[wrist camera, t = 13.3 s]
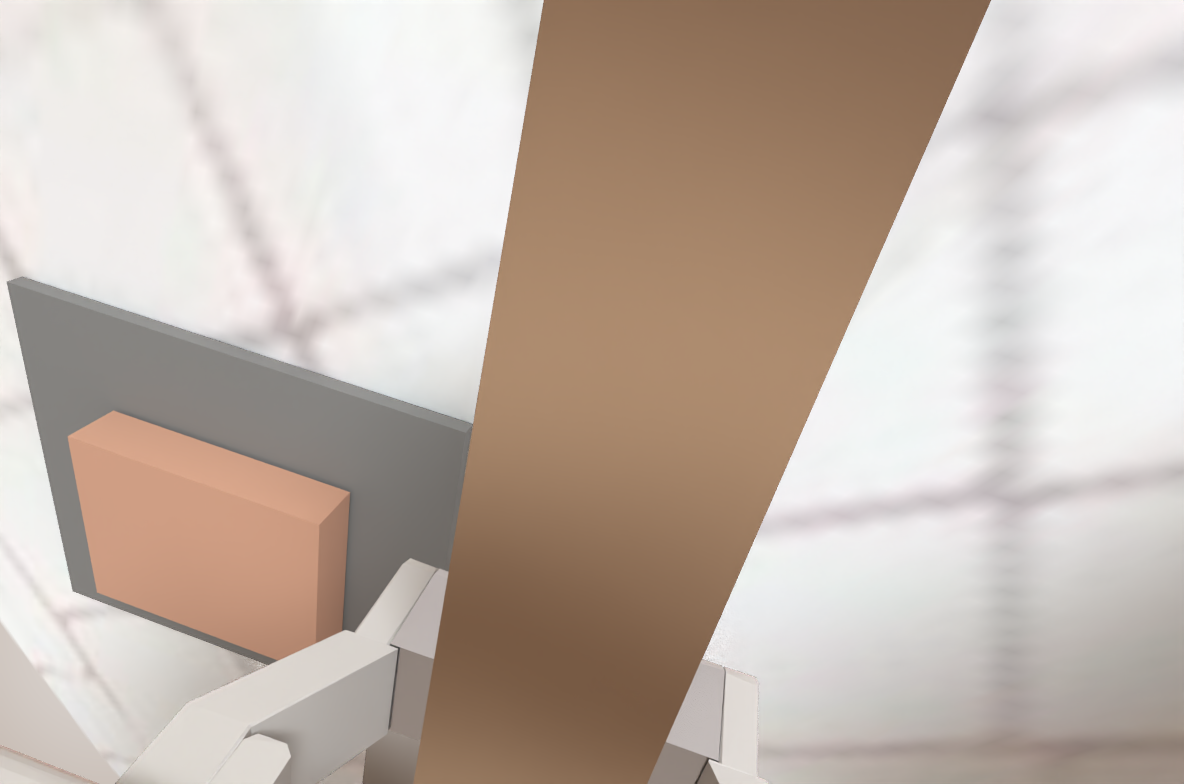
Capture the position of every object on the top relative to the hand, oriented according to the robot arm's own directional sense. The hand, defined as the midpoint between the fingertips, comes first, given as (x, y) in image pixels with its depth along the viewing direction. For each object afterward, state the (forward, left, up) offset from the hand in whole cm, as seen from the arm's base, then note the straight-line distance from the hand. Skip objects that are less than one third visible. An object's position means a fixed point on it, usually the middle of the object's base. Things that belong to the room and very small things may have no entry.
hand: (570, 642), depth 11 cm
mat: (+15, +13, -12) cm, 23 cm away
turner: (0, +1, -2) cm, 2 cm away
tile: (+15, +9, -10) cm, 20 cm away
